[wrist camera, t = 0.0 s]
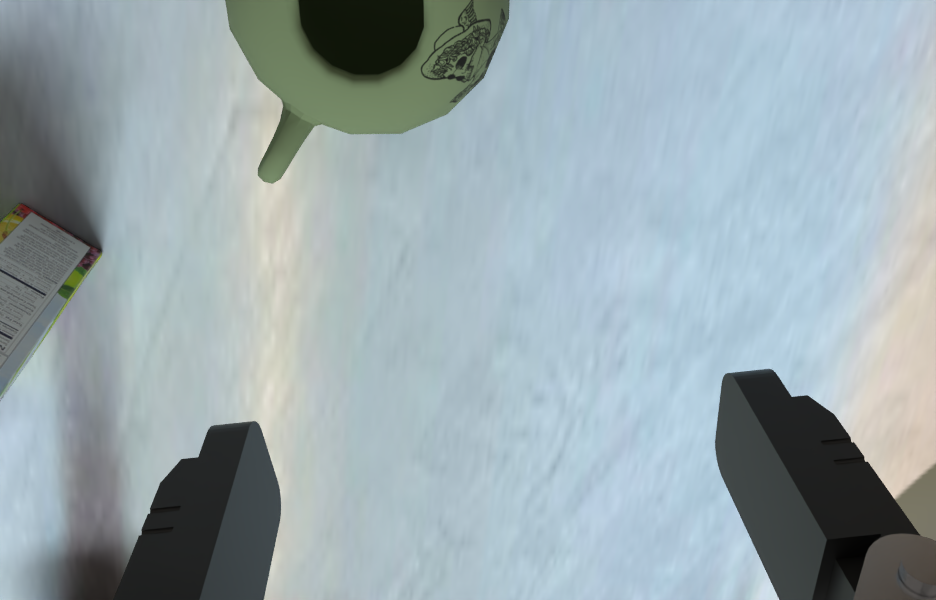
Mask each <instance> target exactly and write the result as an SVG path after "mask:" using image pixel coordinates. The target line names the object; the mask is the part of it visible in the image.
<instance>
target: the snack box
mask: <svg viewBox="0 0 936 600" xmlns="http://www.w3.org/2000/svg"><path fill="white" fill-rule="evenodd" d="M101 256H102V252H101V251H100V250H99V249H96V248H94V247H92V246H91V245H89V244H88V243H86V242H84V241H82V240H81V239H79V238H78V237H76V236H74V235H73V234H71V233H69V232H67V231H66V230H64V229H63V228H61V227H59V226H58V225H56V224H54V223H53V222H51V221H50V220H48V219H46V218H44V217H43V216H41V215H39V214H38V213H36V212H35V211H33V210H31V209H29V208H28V207H27V206H25V205H23V204H18V205H17V206H16V207H15V208H14V209H13V210H12V211H11V212H10V213H9V214H8V215H7V216H6V217H5V218H4V219H3V220H2V221H1V222H0V401H1V399H2V398H3V397H4V395H5V394H6V392H7V391H8V390H9V388H10V387H11V385H12V384H13V383H14V381H15V380H16V378H17V377H18V376H19V374H20V373H21V371H22V370H23V368H24V367H25V366H26V364H27V363H28V361H29V360H30V358H31V357H32V356H33V354H34V353H35V351H36V350H37V348H38V347H39V345H40V344H41V342H42V341H43V340H44V338H45V337H46V335H47V334H48V332H49V331H50V329H51V328H52V326H53V325H54V323H55V322H56V320H57V319H58V317H59V316H60V314H61V313H62V312H63V310H64V309H65V307H66V306H67V304H68V303H69V301H70V300H71V298H72V297H73V295H74V294H75V292H76V291H77V289H78V288H79V286H80V285H81V284H82V282H83V281H84V279H85V278H86V276H87V275H88V274H89V272H90V271H91V270H92V268H93V267H94V266H95V264H96V263H97V262H98V260H99V259H100V257H101Z"/></svg>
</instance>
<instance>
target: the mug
mask: <svg viewBox="0 0 936 600" xmlns="http://www.w3.org/2000/svg"><path fill="white" fill-rule="evenodd" d="M225 1H226V7H227V14H228V20H229V27H230V30H231V32H232V33H233V35H234V37H235V39H236V41H237V42H238V44H239V46H240V48H241V49H242V51H243V53H244V55H245V57H246V58H247V60H248V62H249V64H250V65H251V67H252V69H253V71H254V72H255V74H256V76H257V78H258V80H260V81H261V82H262V83H263V84H264V85H265V86H267V87H268V88H269V89H270V90H271V91H272V92H273V93H275V94H276V95H277V96H278V97H279V98H280V99H281V100H282V103H283V110H282V114H281V119H280V122H279V125H278V127H277V130H276V132H275V134H274V137H273V139H272V141H271V143H270V145H269V147H268V149H267V151H266V153H265V155H264V157H263V159H262V161H261V163H260V165H259V167H258V176H259V177H260V178H261V179H262V180H263V181H264V182H268V183H274V182H276V181H278V180H279V179H281V177H282V176H283V174H284V173H285V171H286V169H287V168H288V166H289V164H290V163H291V161H292V159H293V158H294V156H295V154H296V153H297V151H298V150H299V148H300V147H301V145H302V143H303V142H304V140H305V139H306V137H307V136H308V135H309V133H310V132H311V130H312V129H313V128H314V126H317V125H321V124H323V125H325V126H328V127H331V128H334V129H337V130H340V131H342V132H345V133H348V134H401V133H404V132H406V131H408V130H411V129H413V128H415V127H418V126H420V125H423V124H425V123H427V122H430V121H432V120H434V119H437V118H439V117H441V116H444V115H446V114H448V113H449V112H450V111H451V110H452V109H453V108H454V107H455V106H456V105H457V104H458V103H459V102H460V101H461V100H462V99H463V98H464V97H465V96H466V95H467V94H468V93H469V92H470V91H471V90H472V89H473V88H474V87H475V86H476V85H477V84H478V83H479V82H480V81H481V80H482V79H483V78H484V76H485V74H486V72H487V69H488V67H489V64H490V62H491V60H492V57H493V55H494V53H495V50H496V48H497V45H498V43H499V41H500V38H501V36H502V34H503V31H504V29H505V26H506V24H507V22H508V19H509V0H225Z"/></svg>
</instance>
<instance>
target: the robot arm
mask: <svg viewBox="0 0 936 600" xmlns="http://www.w3.org/2000/svg"><path fill="white" fill-rule="evenodd" d="M715 448H716V457H717V462H718V466H719V470H720V473H721V475H722V478H723V480H724V482H725V484H726V486H727V488H728V491H729V493H730V495H731V497H732V499H733V501H734V503H735V506H736V508H737V510H738V512H739V514H740V516H741V518H742V521H743V523H744V525H745V527H746V529H747V531H748V533H749V536H750V538H751V540H752V542H753V544H754V546H755V548H756V550H757V553H758V555H759V557H760V559H761V561H762V563H763V565H764V568H765V570H766V572H767V574H768V576H769V578H770V580H771V583H772V585H773V587H774V589H775V591H776V593H777V595H778V598H779V600H936V541H935V540H933V539H930V538H927V537H923V536H920V534H919V533H918V532H917V530H916V529H915V528H914V526H913V525H912V523H911V522H910V521H909V519H908V518H907V516H906V515H905V514H904V512H903V511H902V509H901V508H900V506H899V505H898V504H897V502H896V501H895V499H894V498H893V497H892V495H891V494H890V492H889V491H888V490H887V488H886V487H885V485H884V484H883V483H882V481H881V480H880V478H879V477H878V475H877V474H876V473H875V471H874V470H873V468H872V467H871V466H870V464H869V463H868V462H865V460H864V456H863V454H862V453H861V452H860V450H859V449H858V447H857V446H856V445H855V443H854V442H853V443H852V442H851V437H850V436H849V435H848V433H847V432H846V430H845V429H844V428H843V426H842V425H841V423H840V422H839V421H838V419H837V418H836V416H835V415H834V414H833V413H831V412H830V411H829V410H827V409H826V408H824V407H823V406H822V405H820V404H819V403H817V402H816V401H815V400H813V399H812V398H810V397H809V396H808V395H807V396H797V397H791V395H790V394H789V392H788V391H787V389H786V388H785V386H784V385H783V383H782V382H781V380H780V379H779V377H778V376H777V374H776V373H775V372H774V371H773V370H771V369H764V370H754V371H744V372H735V373H727V374H725V375H724V377H723V380H722V386H721V395H720V404H719V412H718V421H717V430H716V439H715ZM280 515H281V498H280V489H279V485H278V481H277V478H276V475H275V472H274V468H273V465H272V462H271V459H270V456H269V453H268V449H267V446H266V443H265V440H264V437H263V433H262V430H261V428H260V426H259V424H258V423H257V422H256V421H252V422H242V423H233V424H223V425H214V426H211V427H210V428H209V430H208V432H207V435H206V437H205V440H204V443H203V446H202V449H201V451H200V454H199V457H198V458H188V459H181V460H180V462H179V463H178V464H177V465H176V466H175V467H174V468H173V469H172V471H171V472H170V473H169V474H168V475H167V476H166V477H165V478H164V480H163V481H162V482H161V483H160V485H159V488H158V490H157V493H156V495H155V498H154V500H153V503H152V505H151V508H150V514H148V515H147V518H146V520H145V523H144V525H143V527H142V535H141V536H139V537H138V540H137V542H136V545H135V547H134V550H133V552H132V555H131V557H130V560H129V562H128V565H127V567H126V570H125V572H124V575H123V577H122V580H121V582H120V585H119V587H118V590H117V592H116V595H115V597H114V600H264V595H265V590H266V585H267V581H268V576H269V571H270V566H271V561H272V556H273V551H274V547H275V542H276V537H277V532H278V527H279V522H280Z"/></svg>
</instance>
